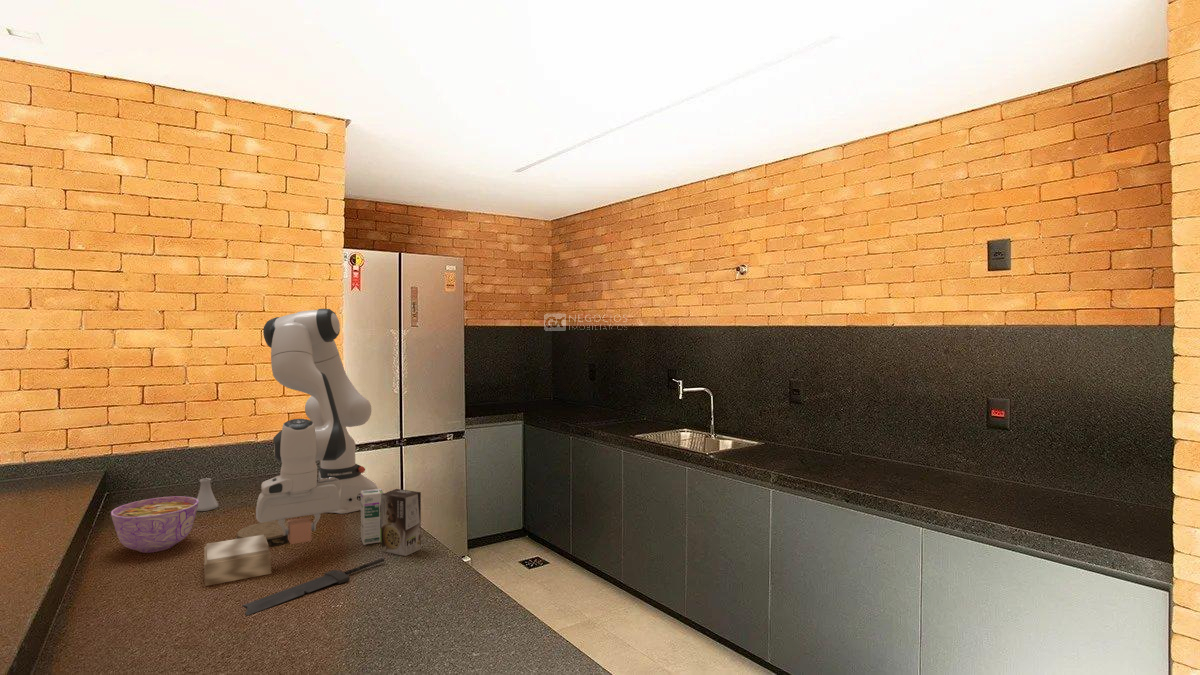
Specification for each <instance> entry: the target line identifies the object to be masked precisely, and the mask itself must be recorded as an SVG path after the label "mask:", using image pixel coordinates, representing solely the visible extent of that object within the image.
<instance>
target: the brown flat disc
mask: <svg viewBox="0 0 1200 675" xmlns="http://www.w3.org/2000/svg"><path fill="white" fill-rule="evenodd" d="M283 524H284V526H285V527H288V520H285V523H283ZM258 535H264V537H266V539H267V542H268V545H269V548H270V547H271V548H272V547H276V546H280V545H284V544H286V543H290V542H289V540H288V535H285V536H283V529H282V528H281V526H280V525H279V523H278V520H275V521H269V522H262V523H260V522H257V523H253V524H251V525H250V524H249V525H247V526H245V527H242V528H241V529H239V530H238V531H237V532H236V539H239V538H246V537H252V536H258Z"/></svg>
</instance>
